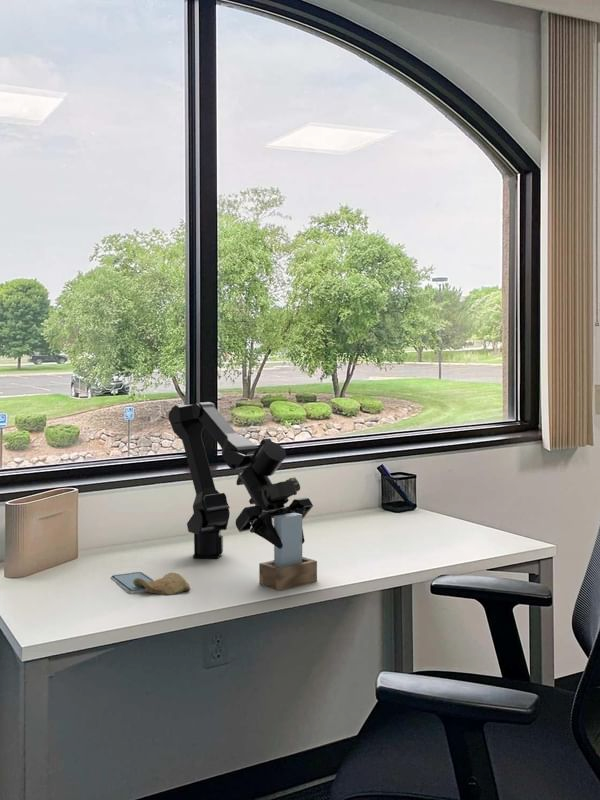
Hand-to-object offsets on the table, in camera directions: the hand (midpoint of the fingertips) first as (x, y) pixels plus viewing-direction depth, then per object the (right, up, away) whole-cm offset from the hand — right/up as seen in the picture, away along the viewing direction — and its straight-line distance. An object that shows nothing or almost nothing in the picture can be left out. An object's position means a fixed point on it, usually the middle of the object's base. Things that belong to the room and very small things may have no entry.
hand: (292, 545), depth 172 cm
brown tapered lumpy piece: (-28, -9, -3) cm, 29 cm away
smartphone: (-35, -9, +1) cm, 36 cm away
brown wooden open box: (-1, -8, +1) cm, 9 cm away
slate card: (-1, -7, +1) cm, 7 cm away
